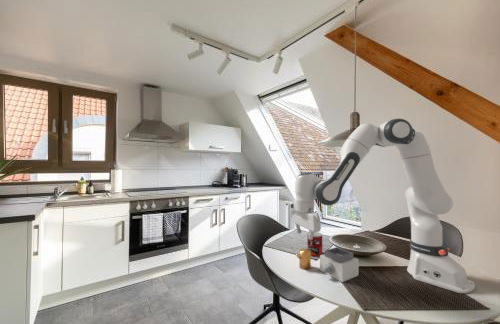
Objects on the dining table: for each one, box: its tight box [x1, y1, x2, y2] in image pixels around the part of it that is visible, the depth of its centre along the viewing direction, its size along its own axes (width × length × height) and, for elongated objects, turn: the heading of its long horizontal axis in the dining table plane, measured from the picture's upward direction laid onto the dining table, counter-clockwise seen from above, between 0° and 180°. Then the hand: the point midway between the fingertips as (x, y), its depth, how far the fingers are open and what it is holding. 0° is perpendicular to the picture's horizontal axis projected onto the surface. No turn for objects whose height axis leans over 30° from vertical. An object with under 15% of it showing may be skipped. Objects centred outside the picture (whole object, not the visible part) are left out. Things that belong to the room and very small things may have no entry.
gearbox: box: [319, 246, 360, 283], centre depth 103 cm, size 12×15×10 cm
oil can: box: [295, 248, 312, 271], centre depth 109 cm, size 8×5×8 cm
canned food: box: [306, 231, 323, 257], centre depth 126 cm, size 8×8×11 cm
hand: (304, 235), depth 110 cm, fingers open, 8 cm apart
